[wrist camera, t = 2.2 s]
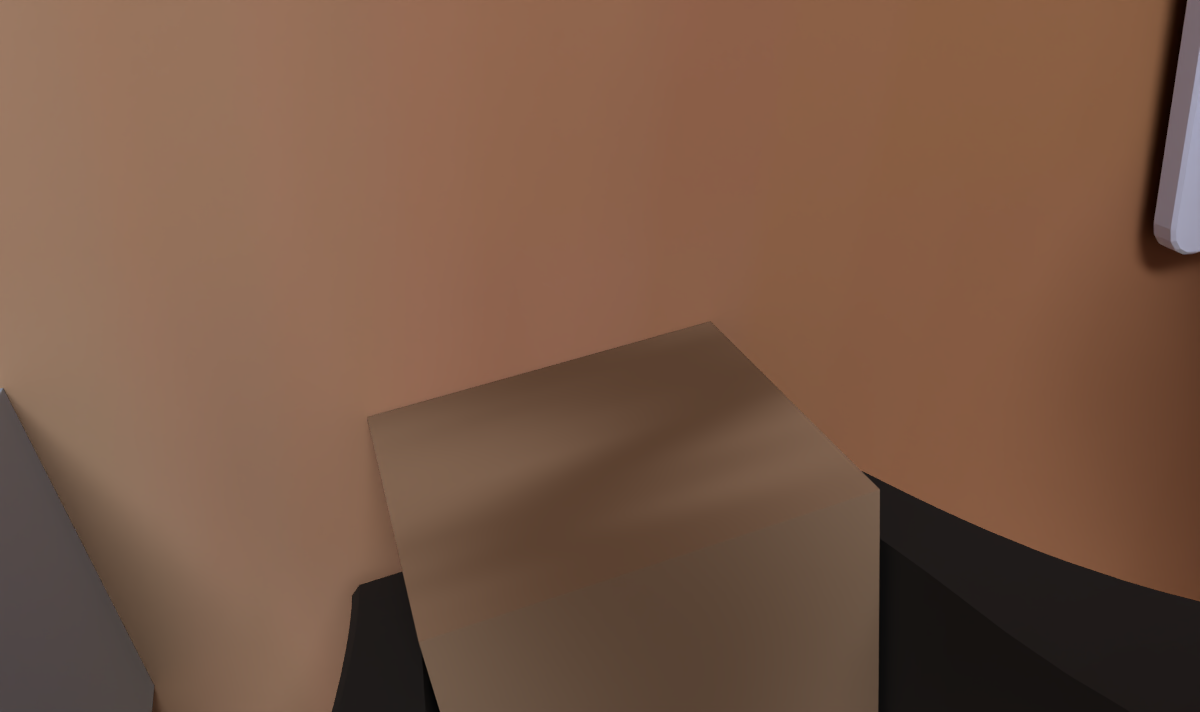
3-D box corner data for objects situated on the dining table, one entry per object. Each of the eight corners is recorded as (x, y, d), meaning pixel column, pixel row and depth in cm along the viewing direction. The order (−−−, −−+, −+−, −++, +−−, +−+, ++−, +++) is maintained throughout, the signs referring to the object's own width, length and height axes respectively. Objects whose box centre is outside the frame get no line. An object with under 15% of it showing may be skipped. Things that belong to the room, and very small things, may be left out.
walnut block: (710, 321, 13) (879, 489, 9) (733, 582, 15) (877, 794, 12) (367, 417, 12) (418, 642, 9) (445, 680, 14) (510, 942, 11)
